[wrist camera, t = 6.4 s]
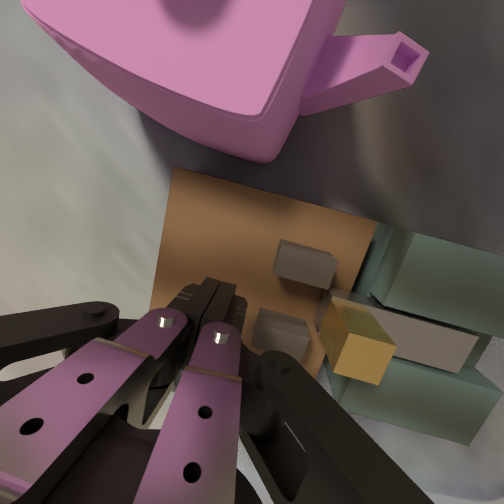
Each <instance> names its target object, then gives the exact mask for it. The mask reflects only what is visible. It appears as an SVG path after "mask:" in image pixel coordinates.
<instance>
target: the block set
mask: <svg viewBox="0 0 504 504" xmlns="http://www.w3.org/2000/svg"><path fill="white" fill-rule="evenodd" d="M206 277H210V278H213V279H217V280H221V283H222V281H224V282H228V283H232V284H235V285H237V287H236V291H235V295H238V296H241V297H245V299H246V301H247V303H248V306H247V310H246V315H245V320H244V325H243V329H242V334H241V339H242V341H243V343H244V345H245V346H246V347H247V348H248V349H249V350H251V351H252V352H254V353H256V354H258V355H259V356H261V354H262V353H264V352H265V351H268V350H278V351H282V352H284V353H287V354H289V355H290V356H292V357H293V358H294V359H296V360H297V361H298V362H299V363H300V365H301V366H302V367H303V368H304V369H305V370H306V371H307V372H308V373H309V374H310V375H311V376H312V377H313V378H314V379H316V377H317V374H318V372H319V369H320V367H321V364H322V362H324V365H325V368H326V372H327V375H328V378H329V382H330V385H331V388H332V392H333V395H334V398H335V401H336V402H337V403H338V404H339V405H340V406H341V407H342V408H343V409H344V410H345V411H348V412H352V413H355V414H359V415H362V416H366V417H369V418H373V419H376V420H380V421H383V422H387V423H390V424H394V425H397V426H401V427H404V428H408V429H411V430H415V431H418V432H422V433H425V434H429V435H432V436H436V437H439V438H443V439H446V440H450V441H453V442H457V443H460V444H464V445H467V446H469V444H470V443H471V441H472V440H473V438H474V437H475V435H476V434H477V432H478V431H479V429H480V428H481V426H482V424H483V423H484V421H485V420H486V418H487V417H488V415H489V414H490V412H491V411H492V409H493V408H494V406H495V405H496V403H497V402H498V400H499V398H500V397H501V395H502V394H503V392H502V391H501V390H500V389H499V388H498V387H496V386H495V385H494V384H493V383H492V382H491V381H490V380H488V379H487V378H486V377H485V376H484V375H483V374H481V373H480V372H479V371H478V370H477V369H476V368H475V365H476V363H477V362H478V360H479V358H480V357H481V355H482V353H483V352H484V350H485V348H486V347H487V345H488V343H489V342H490V340H491V338H492V337H493V336H496V337H499V338H503V339H504V256H501V255H498V254H494V253H491V252H487V251H483V250H480V249H476V248H472V247H469V246H465V245H462V244H458V243H454V242H451V241H447V240H443V239H440V238H436V237H432V236H429V235H425V234H421V233H418V232H414V231H410V230H407V229H403V228H399V227H396V226H392V225H388V224H385V223H381V222H377V221H374V220H370V219H366V218H362V217H359V216H355V215H352V214H348V213H344V212H341V211H337V210H333V209H330V208H326V207H323V206H319V205H315V204H312V203H308V202H304V201H301V200H297V199H293V198H290V197H286V196H282V195H279V194H275V193H271V192H268V191H264V190H260V189H257V188H253V187H249V186H246V185H242V184H238V183H235V182H231V181H227V180H224V179H220V178H216V177H213V176H209V175H205V174H202V173H198V172H194V171H191V170H187V169H183V168H179V167H175V166H174V168H173V174H172V180H171V186H170V191H169V197H168V203H167V209H166V215H165V221H164V227H163V232H162V238H161V244H160V250H159V256H158V262H157V268H156V273H155V279H154V285H153V291H152V297H151V303H150V309H149V311H151V310H153V309H156V308H166V306H167V305H168V304H169V303H170V302H171V301H172V300H173V299H174V298H175V297H176V296H177V294H178V293H179V292H180V291H181V290H182V289H183V288H184V287H185V286H187V285H190V284H192V283H194V284H197V285H201V283H202V282H203V281H204V279H205V278H206ZM329 286H332V287H335V288H339V289H343V290H346V291H350V292H353V293H357V294H360V295H364V296H368V297H371V298H375V299H378V300H379V301H380V302H381V303H382V304H383V305H384V306H388V307H391V308H395V309H399V310H402V311H406V312H409V313H413V314H417V315H420V316H424V317H427V318H431V319H435V320H438V321H442V322H445V323H449V324H453V325H456V326H460V327H463V328H467V329H469V330H470V331H471V332H473V333H474V334H476V335H477V336H479V338H478V340H477V342H476V343H475V345H474V347H473V348H472V350H471V352H470V354H469V355H468V357H467V359H466V361H465V362H464V364H463V366H462V367H461V369H460V371H459V373H458V374H457V373H454V372H450V371H447V370H443V369H440V368H436V367H432V366H429V365H425V364H422V363H418V362H415V361H411V360H408V359H404V358H400V357H397V356H392V358H391V360H390V362H389V364H388V366H387V368H386V370H385V372H384V374H383V377H382V379H381V381H380V383H379V385H375V384H372V383H368V382H365V381H361V380H358V379H354V378H350V377H347V376H343V375H340V374H336V373H333V371H332V368H331V365H330V362H329V359H328V356H327V353H326V350H325V347H324V345H323V342H322V339H321V336H320V335H319V334H318V333H317V330H316V327H315V324H314V321H313V319H314V316H315V314H316V311H317V308H318V305H319V303H320V300H321V297H322V295H323V292H324V289H327V290H328V289H329Z"/></svg>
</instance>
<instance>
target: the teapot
mask: <svg viewBox="0 0 504 504" xmlns="http://www.w3.org/2000/svg"><path fill="white" fill-rule="evenodd" d="M345 2H346V0H21V4H22V6H23V8H24V9H25V11H26V12H27V13H28V14H29V15H30V16H31V17H32V18H33V19H34V20H35V21H36V23H37V24H38V25H39V26H40V27H41V28H42V29H43V30H44V31H45V32H46V33H47V34H48V35H49V36H50V37H51V38H53V39H54V40H55V41H56V42H57V43H58V44H59V45H60V46H61V47H62V48H63V49H64V50H65V51H66V52H67V53H68V54H69V55H70V56H71V57H72V58H73V59H74V60H75V61H77V62H78V63H79V64H80V65H81V66H82V67H83V68H84V69H86V70H87V71H88V72H89V73H90V74H91V75H93V76H94V77H95V78H96V79H97V80H98V81H99V82H101V83H102V84H103V85H104V86H106V87H107V88H108V89H110V90H111V91H112V92H114V93H115V94H116V95H118V96H119V97H121V98H122V99H124V100H125V101H126V102H128V103H129V104H131V105H132V106H134V107H135V108H137V109H138V110H140V111H141V112H143V113H144V114H146V115H148V116H149V117H151V118H152V119H154V120H156V121H157V122H159V123H160V124H162V125H164V126H166V127H167V128H169V129H171V130H173V131H175V132H176V133H178V134H180V135H182V136H184V137H186V138H188V139H191V140H193V141H195V142H197V143H199V144H202V145H204V146H207V147H209V148H212V149H214V150H217V151H220V152H223V153H226V154H229V155H232V156H235V157H238V158H241V159H244V160H248V161H252V162H256V163H263V164H265V163H270V162H272V161H273V160H274V159H275V158H276V157H277V155H278V154H279V152H280V150H281V149H282V147H283V145H284V143H285V141H286V139H287V137H288V135H289V133H290V131H291V129H292V127H293V125H294V123H295V121H296V119H297V117H298V115H301V116H303V117H305V116H308V115H312V114H315V113H319V112H322V111H326V110H329V109H333V108H336V107H340V106H343V105H347V104H350V103H354V102H357V101H361V100H364V99H368V98H371V97H375V96H378V95H382V94H385V93H389V92H392V91H396V90H399V89H403V88H406V87H409V86H411V85H413V83H414V81H415V79H416V77H417V76H418V74H419V72H420V70H421V68H422V66H423V64H424V62H425V61H426V59H427V57H428V55H429V53H430V52H429V51H427V50H426V49H424V48H423V47H421V46H420V45H419V44H417V43H416V42H414V41H413V40H411V39H410V38H409V37H407V36H406V35H404V34H403V33H401V32H400V31H398V32H397V33H396V34H394V35H359V36H333V35H334V32H335V30H336V27H337V25H338V22H339V20H340V17H341V14H342V11H343V8H344V5H345Z"/></svg>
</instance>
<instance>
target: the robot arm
mask: <svg viewBox="0 0 504 504" xmlns="http://www.w3.org/2000/svg"><path fill="white" fill-rule="evenodd" d="M236 287H237V285H235V284H232V283H228V282H224V281H222V283H221V280H217V279H213V278H210V277H206V278H205V279H204V281H203V282H202V283H201V285H197V284H194V283H192V284H190V285H187V286H185V287H184V288H183V289H182V290H181V291H180V292H179V293H178V294H177V296H176V297H175V298H174V299H173V300H172V301H171V302H170V303H169V304H168V305H167V306H166V308H156V309H153V310H151V311H149V312H148V313H147V314H145V315H144V316H143V317H142V318H140V319H139V320H134V319H119V309H118V308H117V307H116V306H115V305H113V304H111V303H107V302H99V301H94V302H85V303H79V304H73V305H67V306H60V307H54V308H48V309H41V310H35V311H29V312H22V313H16V314H10V315H4V316H0V370H1V369H3V368H4V367H6V366H7V365H9V364H11V363H14V362H17V361H21V360H25V359H29V358H32V357H36V356H40V355H44V354H48V353H51V352H55V351H59V350H63V349H65V359H64V361H62V362H61V363H60V364H58V365H57V366H55V367H52V368H49V369H45V370H42V371H39V372H35V373H32V374H29V375H25V376H22V377H19V378H16V379H12V380H9V381H0V504H262V502H261V500H260V498H259V496H258V495H257V493H256V491H255V490H254V488H253V487H252V485H251V484H250V482H249V481H248V480H247V479H246V477H245V476H244V475H243V474H242V473H241V472H240V471H239V470H238V469H237V468H236V467H237V452H238V436H239V437H240V439H241V441H242V443H243V445H244V447H245V449H246V451H247V453H248V455H249V457H250V458H251V460H252V462H253V464H254V466H255V468H256V470H257V472H258V474H259V476H260V477H261V479H262V481H263V483H264V485H265V487H266V489H267V491H268V493H269V495H270V497H271V499H272V500H273V502H274V504H434V503H433V502H432V501H431V499H429V497H428V496H427V495H426V494H425V493H424V492H423V491H422V490H421V489H420V488H419V487H418V486H417V485H416V484H415V483H414V482H413V481H412V480H411V479H410V478H409V477H408V476H407V475H406V473H405V472H404V471H403V470H402V469H401V468H400V467H399V466H398V465H397V464H396V463H395V462H394V461H393V460H392V459H391V458H390V457H389V456H388V455H387V454H386V453H385V452H384V451H383V450H382V449H381V448H380V447H379V445H378V444H377V443H376V442H375V441H374V440H373V439H372V438H371V437H370V436H369V435H368V434H367V433H366V432H365V431H364V430H363V429H362V428H361V427H360V426H359V425H358V424H357V423H356V422H355V421H354V420H353V418H352V417H351V416H350V415H349V414H348V413H347V412H346V411H345V410H344V409H343V408H342V407H341V406H340V405H339V404H338V403H337V402H336V401H335V400H334V399H333V398H332V397H331V396H330V395H329V394H328V393H327V391H326V390H325V389H324V388H323V387H322V386H321V385H320V384H319V383H318V382H317V381H316V380H315V379H314V378H313V377H312V376H311V375H310V374H309V373H308V372H307V371H306V370H305V369H304V368H303V367H302V366H301V365H300V363H299V362H298V361H297V360H296V359H294V358H293V357H292V356H290V355H289V354H287V353H284V352H282V351H278V350H268V351H265V352H264V353H262V354H261V356H259V355H258V354H256V353H254V352H252V351H251V350H249V349H248V348H247V347H246V346H245V345H244V343H243V341H242V339H241V334H242V329H243V325H244V320H245V315H246V310H247V306H248V303H247V301H246V299H245V297H241V296H238V295H235V291H236ZM180 370H182V371H183V373H182V376H181V379H180V381H179V384H178V386H177V389H176V392H175V394H174V397H173V400H172V402H171V405H170V407H169V410H168V413H167V415H166V418H165V421H164V423H163V426H162V428H161V430H157V429H148V428H149V426H150V425H151V423H152V421H153V420H154V418H155V416H156V415H157V413H158V411H159V410H160V408H161V407H162V405H163V403H164V402H165V400H166V398H167V397H168V395H169V393H170V392H171V390H172V388H173V386H174V382H175V379H176V377H177V375H178V374H179V372H180ZM285 422H286V423H287V424H288V426H289V427H290V429H291V430H292V431H293V433H294V434H295V436H296V437H297V438H298V440H299V441H300V443H301V444H302V446H303V447H304V449H305V451H304V450H303V449H302V447H301V446H300V444H299V443H298V442H297V440H296V439H295V437H294V436H293V434H292V433H291V432H290V430H289V429H288V427H287V426H286V425H285ZM305 452H306V453H305Z"/></svg>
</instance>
